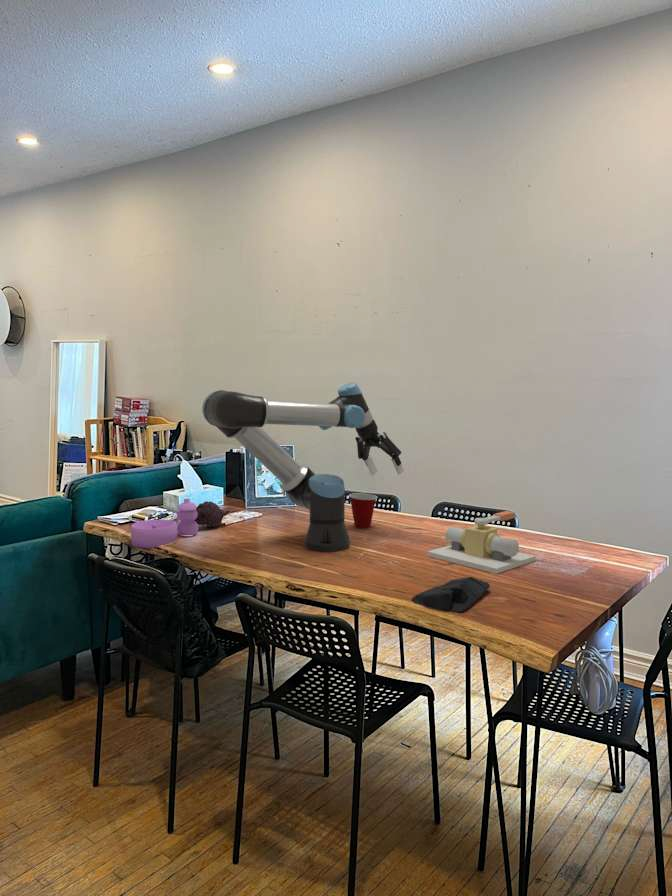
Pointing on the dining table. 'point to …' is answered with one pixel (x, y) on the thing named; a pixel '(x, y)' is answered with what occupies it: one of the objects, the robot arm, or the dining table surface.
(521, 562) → the pipe board
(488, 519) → the valve lever
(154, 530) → the container set
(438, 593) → the black crumpled cloth
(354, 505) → the plastic cup
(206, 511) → the pine cone
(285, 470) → the robot arm
